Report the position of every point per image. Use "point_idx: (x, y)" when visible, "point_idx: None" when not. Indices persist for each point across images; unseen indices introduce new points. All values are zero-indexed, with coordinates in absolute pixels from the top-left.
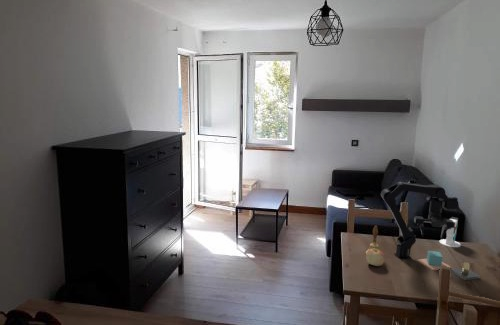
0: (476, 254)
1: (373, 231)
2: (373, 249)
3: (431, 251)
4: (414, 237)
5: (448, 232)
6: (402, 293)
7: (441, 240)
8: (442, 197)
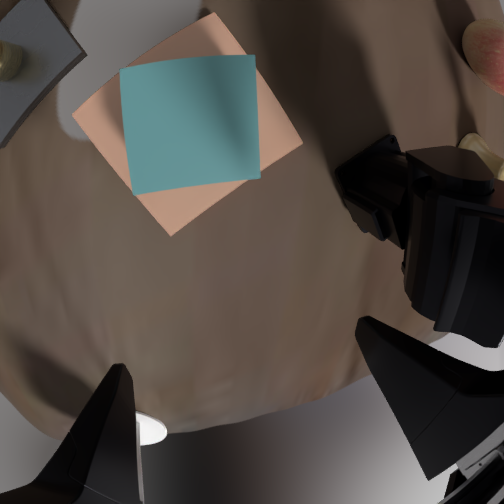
0: (18, 372)
1: None
2: None
3: (223, 169)
4: (472, 203)
5: None
6: None
7: (160, 435)
8: None
